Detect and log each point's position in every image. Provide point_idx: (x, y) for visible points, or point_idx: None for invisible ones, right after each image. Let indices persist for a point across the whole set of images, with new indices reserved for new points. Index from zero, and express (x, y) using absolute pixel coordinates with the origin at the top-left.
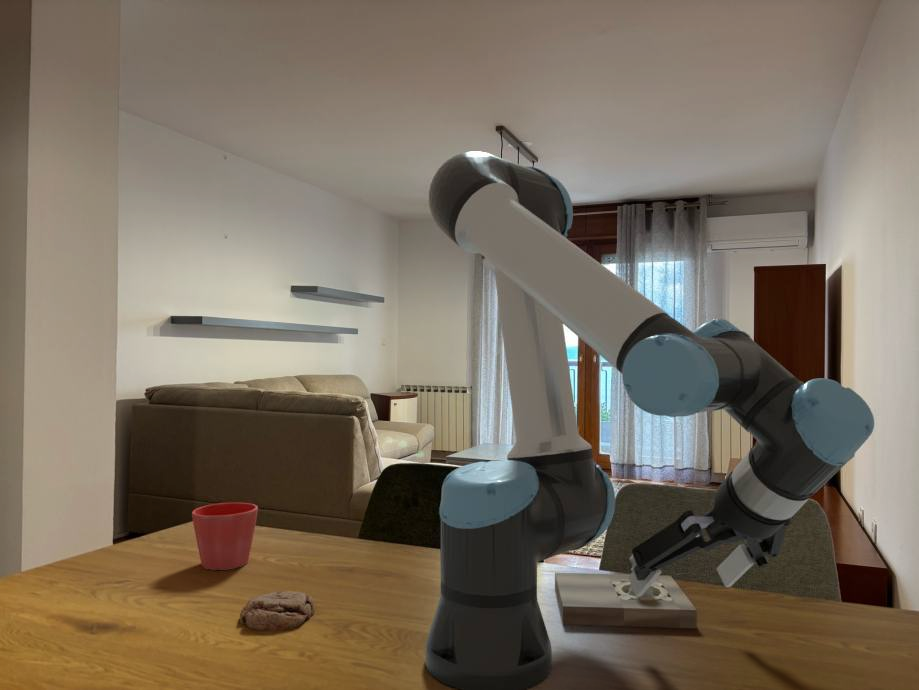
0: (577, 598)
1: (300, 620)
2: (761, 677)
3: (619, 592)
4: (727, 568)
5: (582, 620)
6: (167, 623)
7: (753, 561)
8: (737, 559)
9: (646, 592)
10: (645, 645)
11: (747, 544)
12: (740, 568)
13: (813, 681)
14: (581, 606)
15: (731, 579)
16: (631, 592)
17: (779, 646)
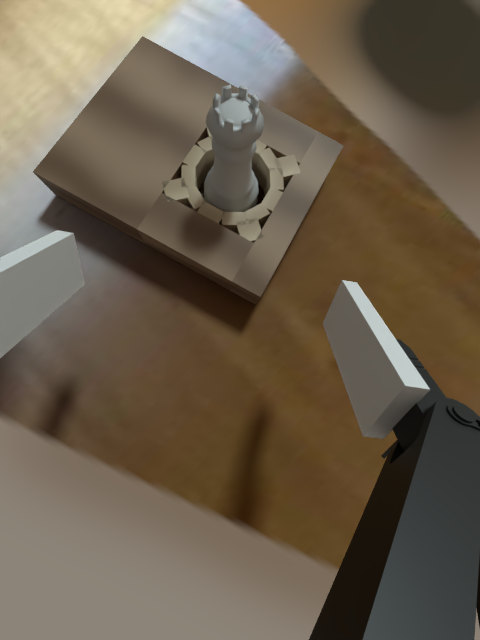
0: (87, 154)
1: None
2: (210, 492)
3: (186, 166)
4: (345, 323)
5: (80, 206)
6: None
7: (387, 434)
8: (365, 368)
9: (228, 194)
10: (125, 318)
11: (365, 537)
12: (349, 382)
13: (277, 539)
14: (64, 188)
15: (332, 342)
16: (209, 176)
17: (331, 416)
